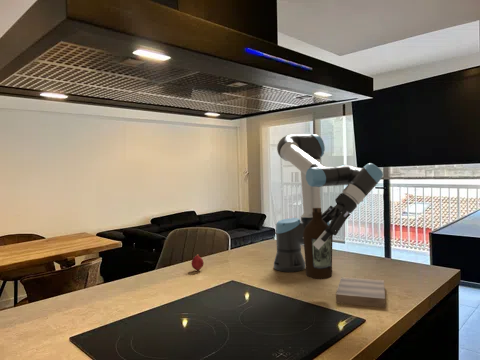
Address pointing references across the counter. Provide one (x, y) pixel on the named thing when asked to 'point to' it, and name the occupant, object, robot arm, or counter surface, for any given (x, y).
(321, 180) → the robot arm
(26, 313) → the counter surface
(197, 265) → the onion
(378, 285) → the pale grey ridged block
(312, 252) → the olive oil
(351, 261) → the counter surface
